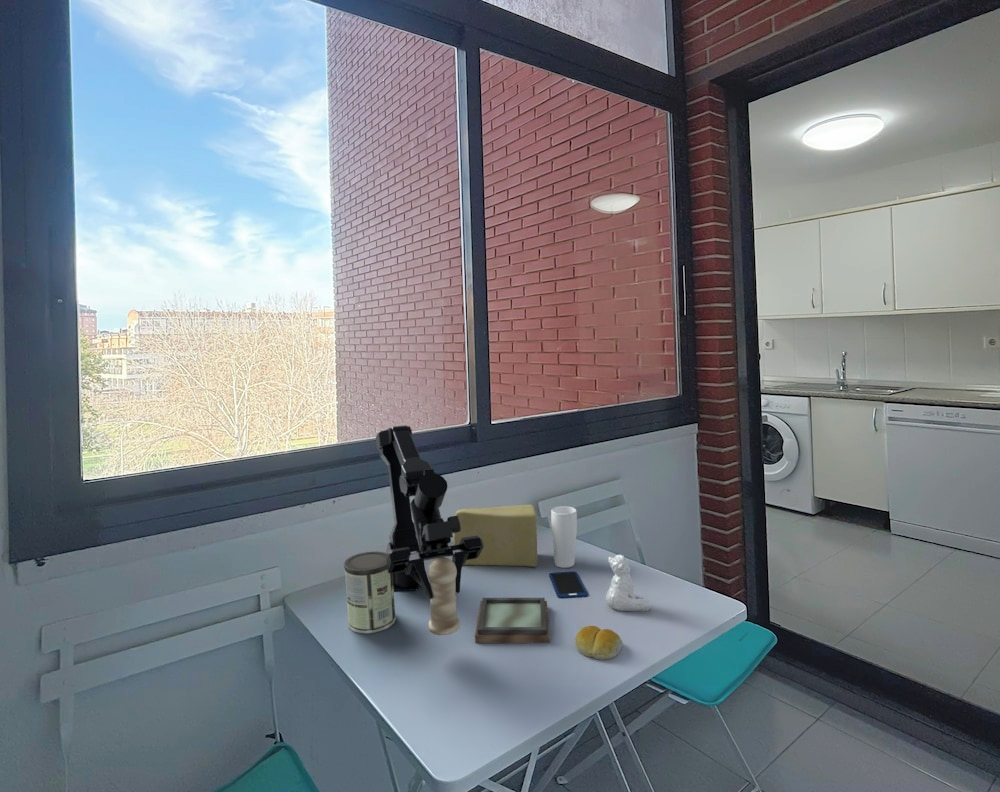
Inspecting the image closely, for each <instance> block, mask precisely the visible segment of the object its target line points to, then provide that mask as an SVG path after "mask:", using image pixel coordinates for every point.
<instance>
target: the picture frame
mask: <svg viewBox="0 0 1000 792" xmlns="http://www.w3.org/2000/svg"><path fill="white" fill-rule="evenodd" d="M547 601H548V600H545V597H482V599H481V600H480V602H479V603H480V604H479V609H478V615H477V621H476V628H475V633H474V634H475V635H474V642H475V643H482V644H483V643H484V644H485V643H489V644H492V643H494V644H496V643H497V644H499V643H501V644H502V643H503V644H505V643H506V644H508V643H511V644H512V643H513V644H516V643H518V644H519V643H522V644H525V643H529V644H531V643H537V644H538V643H539V644H541V643H546V644H547V643H548V644H550V629H549V627H550V626H549V615H548V614H549V613H548V602H547Z"/></svg>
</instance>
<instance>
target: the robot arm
mask: <svg viewBox="0 0 1000 792" xmlns="http://www.w3.org/2000/svg"><path fill="white" fill-rule="evenodd" d="M375 445H376V446H375V447H376V449H377V450H378V451H379V456H380V458H381V460H382V461H383V462H384V463H385V465H386V466H387V471H388V480H389V489H390V498H391V505H392V507H391V508H392V513H393V514H392V515H393V524H394V525H393V526H392V528H391V530H390V533H389V537H388V539H389V542H388V543H387V546H386V552H385V553H388V559H387V568H388V573H390V574H392V573H393V588H394V591H418V589H419V587H421V589H422V590H423V592H424V593H425V595H427V597H428V598H429V600H430V599H432V598H433V596H432V590H431V586H430V582H429V578H428V573H427V570H426V567H425V561H429V560H435V559H437V558H440V557H445V558H448V557H451V561H453V563H454V564H455V566H456V569H457V575H456V578H455V579H456V595H458V594H459V593H460V591H461V578H462V568H463V566H464V565H463V564H465V562H466V560H471V559H476V558H478V557H479V555H480V553H481V551H482V549H483V547H484V546H483V542H482V539H481V538H480V537H479V536H471V537H464V538H461V541H460V543H459V545H454V544H453V545H449V544H451V541H452V538H454V533H457V532H460V531H461V527H460V522H459V518H458V516H456V515H454V516H453V515H452V516H449V517H447V519H446V521H444V518H442V514H441V511H440V507H442V504H443V501H444V498H445V496H446V494H447V490H448V481H447V480H446V479H445V477H443V476H442V475H440V474H439V473H437V472H436V471H435V469H434V468H433V467H432V465H431V464H430V462H428V461H426V460H424V459H422V458H421V455H420V453H419V451H418V449H417V447H416V444H415V441H414V438H413V430H412V429H411V426H409V425H406V424H405V425H396V426H391V427H388V428H387V429H385V430H380V431H379V432H378V433H377V434H376V436H375ZM410 497H414V498H413V499H412V500H411V499H410Z"/></svg>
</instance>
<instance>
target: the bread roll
mask: <svg viewBox="0 0 1000 792" xmlns="http://www.w3.org/2000/svg"><path fill="white" fill-rule="evenodd" d="M574 638H575V639H574V640H575V647H576V649H577V651H578V652H579V653H580V654H581V655H583V656H585V657H589V658H590V657H593V658H594V659H596V660H603V661H604V659H605V660H609V659H614V658H616V657H617V656H618V655H619V653H620V652H621V649H622V648H623V640H622V639H621V637H620V635H619V634H618V633H617V632H615V631H614V630H612V629H610V628H603V629H601V628H600V627H598V626H596V625H587V626H584V627H583V628H582V627H581V629H579V631H577V633H576V634H575V637H574Z"/></svg>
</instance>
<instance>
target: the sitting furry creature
mask: <svg viewBox="0 0 1000 792" xmlns="http://www.w3.org/2000/svg"><path fill="white" fill-rule="evenodd" d="M608 563H609V567H610V568H611V571H613V573H614V575H613V577H612V578H611V580H610V584H609V585H610V587H608V590H607V592H606V595H605V599H606V600H605V601H606V604H607V605H608V606H609V607H610V609H613V610H615V611H618V612H648V611H650V610H651V603H650V602H649V600H647V599H644V598H643V597H641V598H637V596H636V594H635V593H634V588H635V585H634V582H633V580H632V576H631V574H630V573H631V568H630V565H629V561H628V560H627V559H626V558H625V555H624V554H616V555H615V556H614V557H613V556H609V557H608Z"/></svg>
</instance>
